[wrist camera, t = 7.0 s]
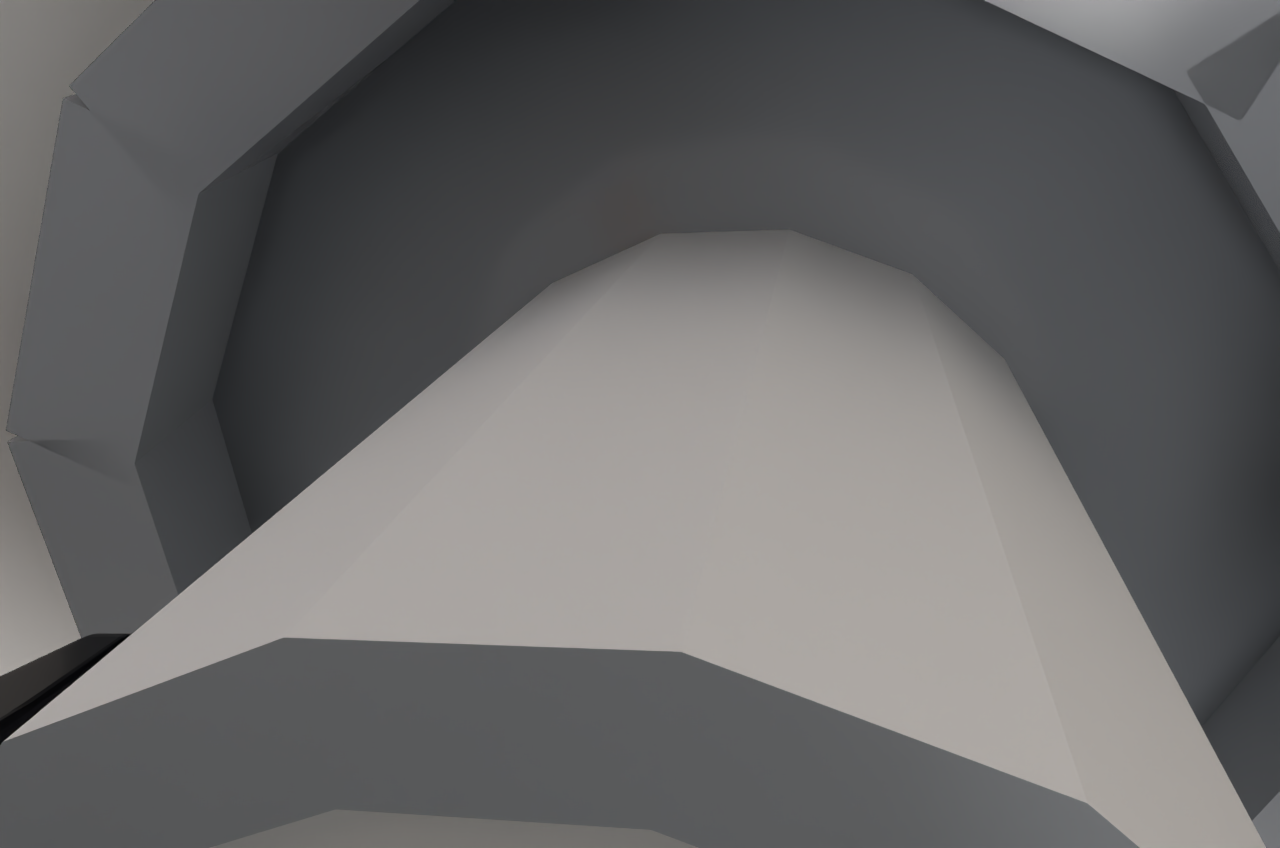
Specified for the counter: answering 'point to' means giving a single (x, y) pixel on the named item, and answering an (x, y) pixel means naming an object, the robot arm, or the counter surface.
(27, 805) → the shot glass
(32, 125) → the counter surface
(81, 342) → the tray
